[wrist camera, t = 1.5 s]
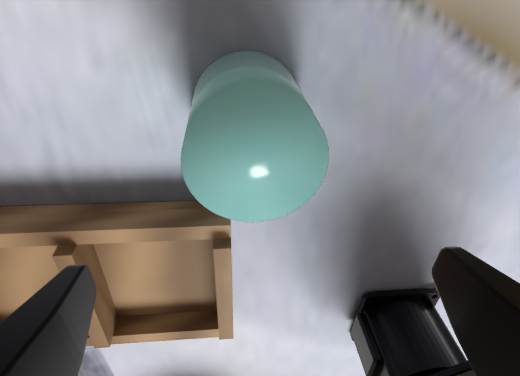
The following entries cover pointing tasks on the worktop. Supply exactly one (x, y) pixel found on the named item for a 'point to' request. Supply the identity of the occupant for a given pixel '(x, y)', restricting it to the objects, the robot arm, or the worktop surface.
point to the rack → (126, 266)
